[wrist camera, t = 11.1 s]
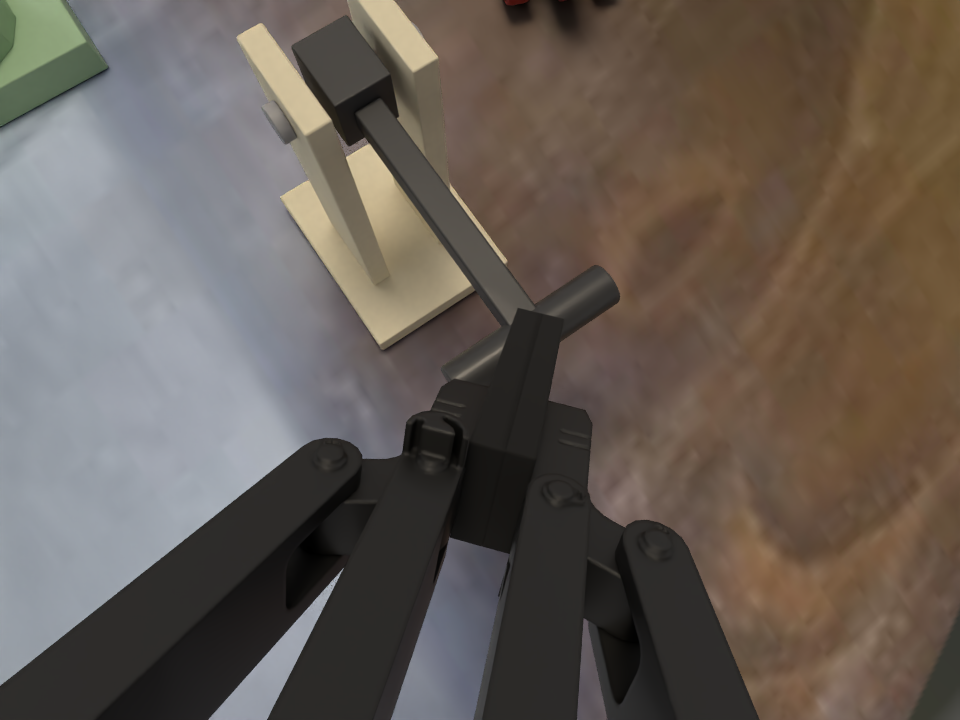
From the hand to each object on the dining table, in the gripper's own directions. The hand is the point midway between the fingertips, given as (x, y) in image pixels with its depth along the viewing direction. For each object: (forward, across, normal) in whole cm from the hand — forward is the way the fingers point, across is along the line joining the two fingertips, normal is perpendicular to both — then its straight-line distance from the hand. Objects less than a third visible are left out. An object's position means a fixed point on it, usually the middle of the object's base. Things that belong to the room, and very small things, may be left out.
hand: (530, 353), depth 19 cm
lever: (+5, -5, +2) cm, 7 cm away
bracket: (+16, -9, -4) cm, 18 cm away
